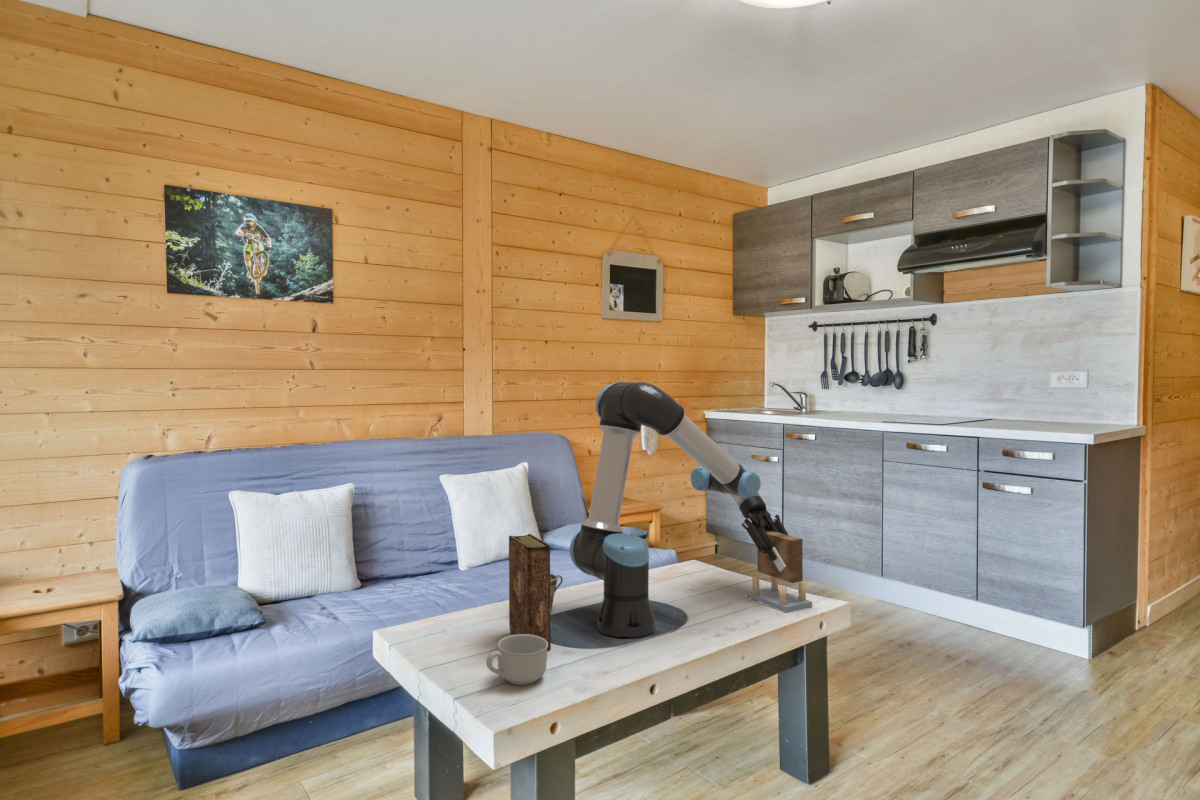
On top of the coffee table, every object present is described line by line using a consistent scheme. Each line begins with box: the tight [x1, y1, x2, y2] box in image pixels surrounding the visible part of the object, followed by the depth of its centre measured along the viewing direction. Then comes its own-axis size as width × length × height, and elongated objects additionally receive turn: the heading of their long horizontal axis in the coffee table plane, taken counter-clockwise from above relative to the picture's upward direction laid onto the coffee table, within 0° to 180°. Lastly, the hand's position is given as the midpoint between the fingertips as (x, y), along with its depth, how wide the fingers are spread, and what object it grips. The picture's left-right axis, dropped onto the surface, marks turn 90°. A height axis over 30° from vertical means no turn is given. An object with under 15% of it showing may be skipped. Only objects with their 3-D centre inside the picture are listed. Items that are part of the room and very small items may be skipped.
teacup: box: [486, 634, 548, 686], centre depth 147 cm, size 14×11×8 cm
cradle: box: [746, 575, 813, 613], centre depth 200 cm, size 16×10×6 cm, turn 29°
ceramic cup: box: [550, 572, 564, 615], centre depth 192 cm, size 13×10×10 cm
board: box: [757, 530, 804, 584], centre depth 200 cm, size 14×4×12 cm, turn 29°
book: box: [508, 533, 552, 653], centre depth 170 cm, size 16×6×25 cm, turn 25°
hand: (789, 567), depth 197 cm, fingers closed on board, 4 cm apart
